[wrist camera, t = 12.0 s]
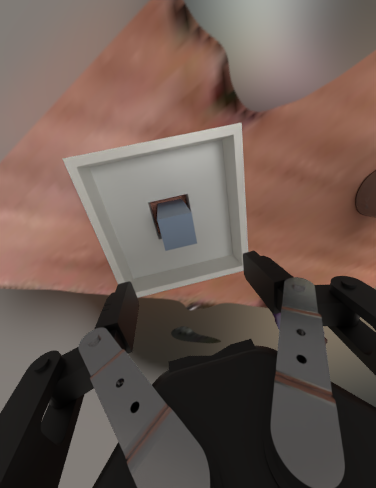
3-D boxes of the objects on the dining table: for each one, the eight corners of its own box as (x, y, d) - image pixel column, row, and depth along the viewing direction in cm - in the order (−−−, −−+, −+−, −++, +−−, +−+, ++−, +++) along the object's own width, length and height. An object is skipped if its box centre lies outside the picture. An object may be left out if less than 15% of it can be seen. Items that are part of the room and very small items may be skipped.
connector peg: (181, 198, 29) (191, 212, 20) (185, 221, 31) (197, 243, 22) (157, 203, 29) (157, 219, 20) (163, 226, 31) (165, 250, 21)
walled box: (221, 133, 26) (241, 122, 20) (232, 250, 35) (249, 269, 28) (86, 161, 25) (62, 158, 19) (131, 275, 33) (125, 300, 27)
